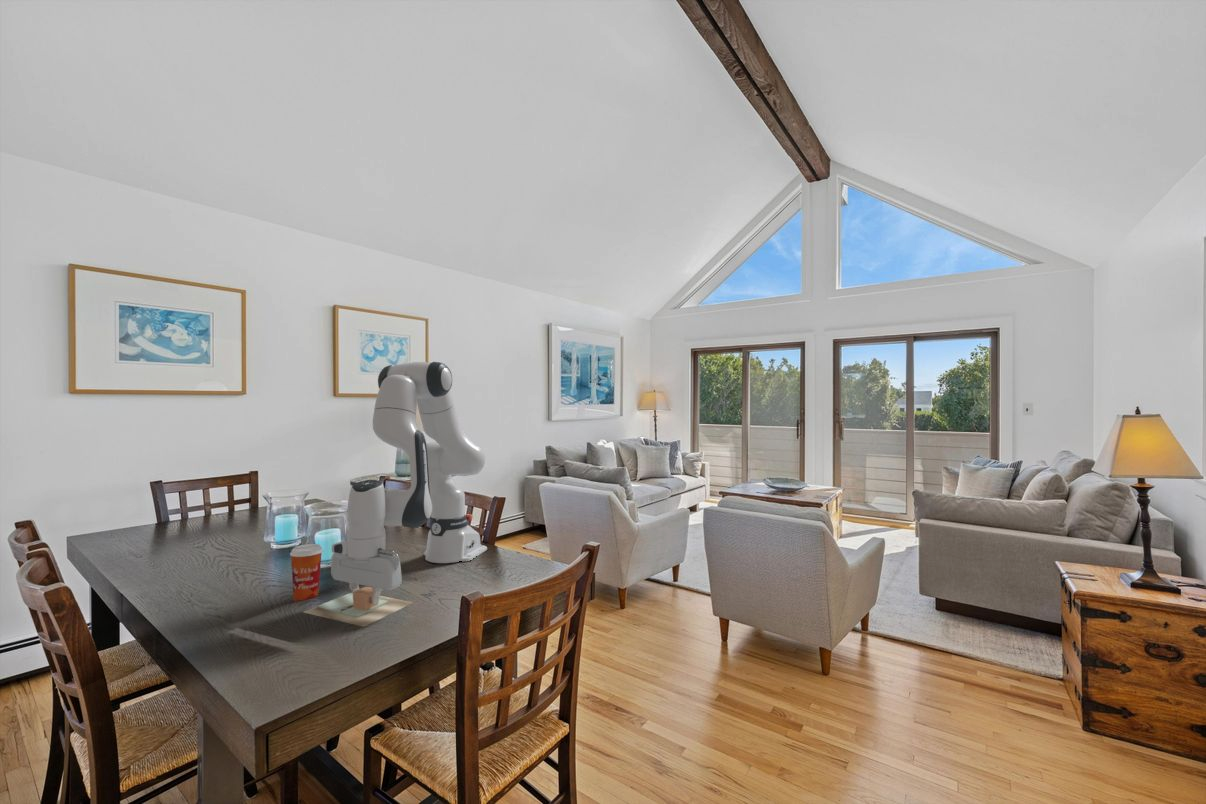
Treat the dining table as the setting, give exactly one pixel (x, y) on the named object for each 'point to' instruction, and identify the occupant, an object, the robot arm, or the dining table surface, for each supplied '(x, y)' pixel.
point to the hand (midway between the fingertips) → (365, 601)
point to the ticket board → (345, 602)
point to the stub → (362, 603)
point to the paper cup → (306, 570)
